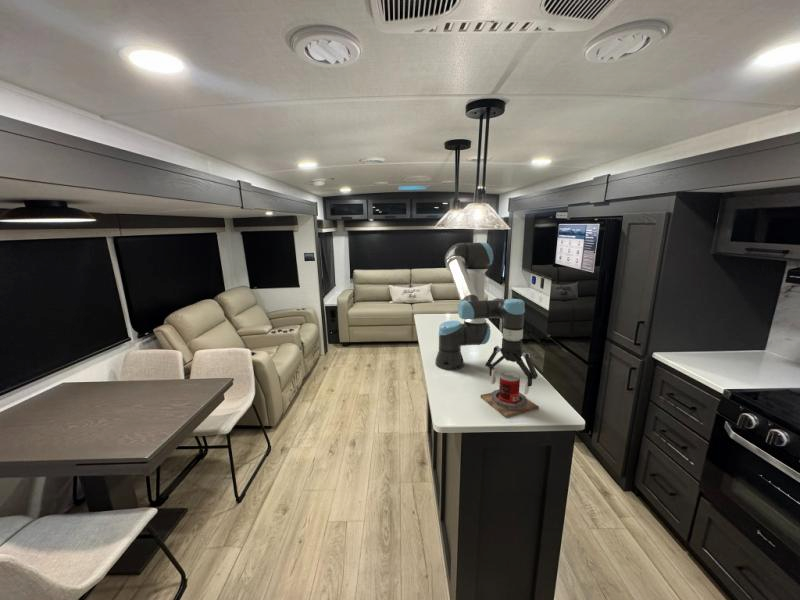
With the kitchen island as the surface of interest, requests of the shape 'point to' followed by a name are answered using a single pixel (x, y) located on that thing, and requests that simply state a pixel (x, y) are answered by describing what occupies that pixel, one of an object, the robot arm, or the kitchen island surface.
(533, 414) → the kitchen island surface
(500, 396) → the canned food
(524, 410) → the socket board
